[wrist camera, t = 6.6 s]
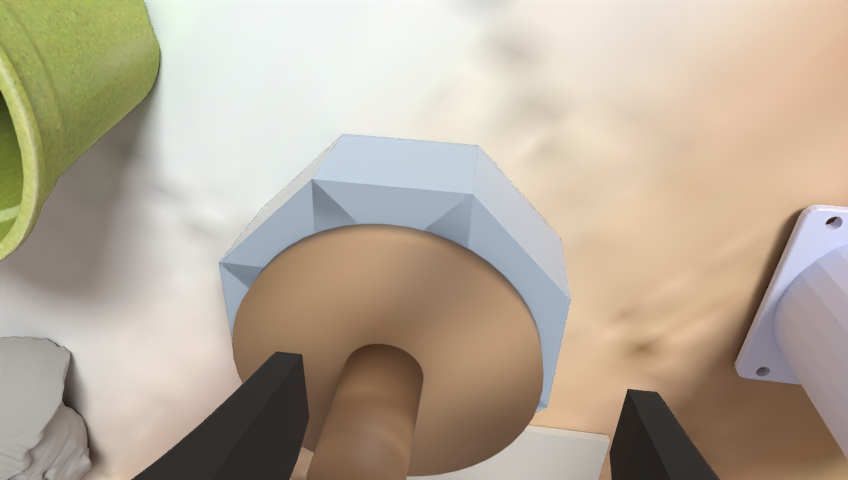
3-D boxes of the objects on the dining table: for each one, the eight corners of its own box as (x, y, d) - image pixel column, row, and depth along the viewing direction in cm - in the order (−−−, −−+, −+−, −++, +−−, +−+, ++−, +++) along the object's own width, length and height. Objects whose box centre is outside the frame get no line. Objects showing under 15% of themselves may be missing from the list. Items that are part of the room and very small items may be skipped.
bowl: (577, 153, 20) (591, 204, 17) (530, 395, 26) (534, 468, 23) (251, 125, 21) (202, 168, 18) (279, 364, 27) (247, 430, 24)
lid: (594, 283, 18) (626, 416, 13) (482, 484, 24) (476, 627, 19) (262, 180, 18) (174, 280, 13) (230, 410, 23) (160, 537, 19)
